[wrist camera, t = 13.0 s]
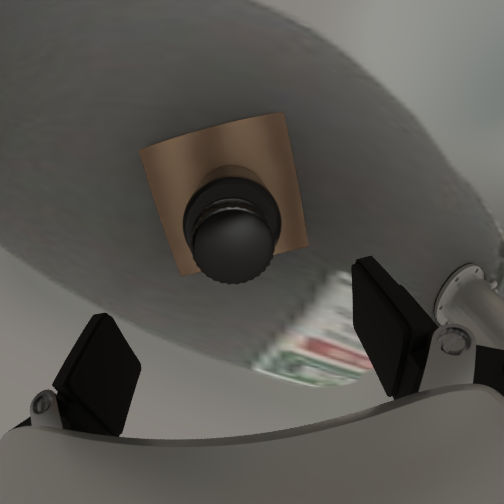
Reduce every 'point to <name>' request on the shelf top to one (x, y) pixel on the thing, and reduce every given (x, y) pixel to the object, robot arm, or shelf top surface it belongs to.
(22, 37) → the shelf top surface
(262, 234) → the supplement bottle
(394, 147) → the shelf top surface
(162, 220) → the wavy wooden tray
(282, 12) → the shelf top surface
